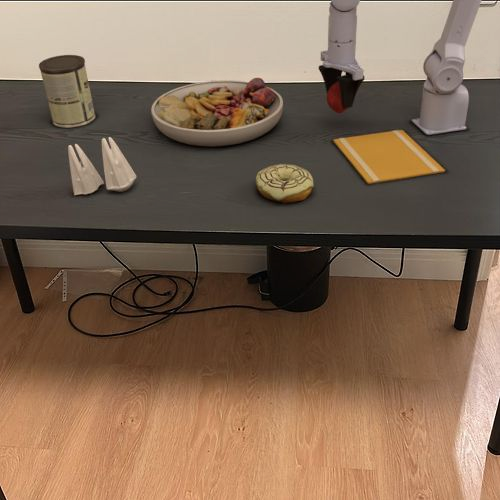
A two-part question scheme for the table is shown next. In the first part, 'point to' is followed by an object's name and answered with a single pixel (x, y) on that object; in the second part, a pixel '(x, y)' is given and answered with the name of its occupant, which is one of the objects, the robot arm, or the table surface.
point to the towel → (387, 156)
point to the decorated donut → (284, 183)
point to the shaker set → (88, 178)
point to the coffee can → (67, 90)
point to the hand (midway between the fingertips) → (339, 102)
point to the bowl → (218, 112)
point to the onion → (335, 98)
